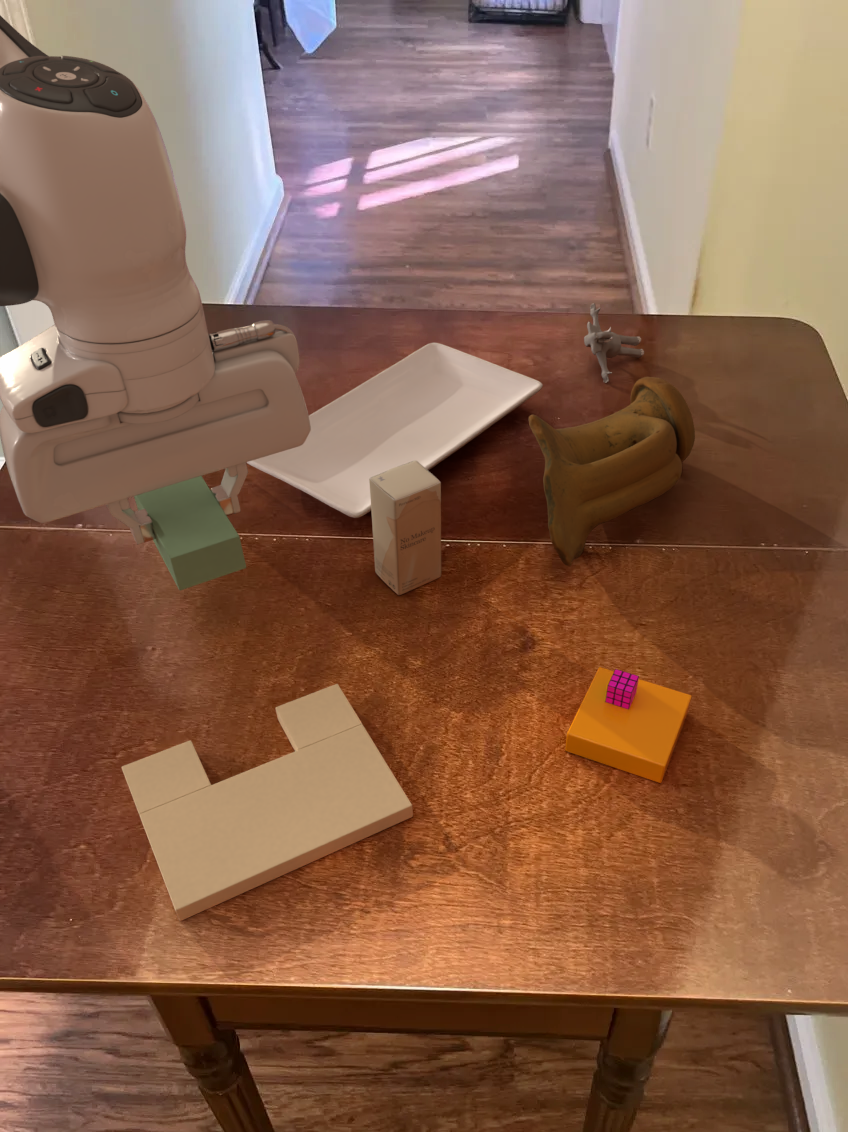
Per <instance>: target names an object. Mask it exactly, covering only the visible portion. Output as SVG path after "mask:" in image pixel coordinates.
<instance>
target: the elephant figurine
mask: <svg viewBox="0 0 848 1132" xmlns="http://www.w3.org/2000/svg"><path fill="white" fill-rule="evenodd" d="M601 308H602V307H598V308H596V303H595V302H594V303H591V304H590V307H589V309H590V311H589V313H590V317H591V318H592V321H593V323H592V322H591V321H587V324H586V328H587V332H588V333H587V334H585V336H584V337H583V343H584V345H585V347H586V348H590V351H591V353H592V354H593V355H594V356H596V358H597V362H598V364H599V366H600V368H601V378H602V380H603V383H605V384H607V383H609V382H610V378H609V376H610V375H611V374H613V371H610V370H609V368H608V363H607V359H613V358H616V356H619V357H621V356H623V357H630V358H634V359H640V358H642V357H643V356H644V354H645V350H644V349H643V348H633V347H627V346H634V347H636V346H638V345H640V343H641V342H642V338H641V336H629V335H622V334H618V333H616V332H613V331H612V327H611V326H610V327H609V329H608V330H604V331H603V330H602V329H601V325H600V322H599V313H600V310H602V309H601ZM622 345H627V346H622Z"/></svg>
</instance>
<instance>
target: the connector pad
mask: <svg viewBox="0 0 848 1132" xmlns="http://www.w3.org/2000/svg"><path fill="white" fill-rule="evenodd" d="M133 499H134V500H135V504H136V508H137V511H138V510H142V509H146V511H147V513H148V516H149V517H150V518H151V520H152V523H153V529H154V533H155V536H156V539H154V540H152V542H153V544H154V545H155V547H156V549H157V551H158V553H159V554H160V556H161V558H162V560H163V562H164V564H165V566H166V568H167V570H168V572H169V574H170V575H171V578H172V580H173V581H174V583H175V586H176V587H177V589H178V591H183V590H186V589H189V588H191V587H194V586H198V585H200V584H203V583H206V582H209V581H212V580H215V579H218V578H221V577H223V576H227V575H230V574H232V573H236V572H238V571H242V570H244V569H247V563H246V559H245V555H244V549H243V547H242V542H241V537H240V535H239V532H238V531H237V530H236V529H235V527H234V525H233V523H232V522H231V521H230V520H231V519H229V516H226V514H225V512H224V511H223V509H222V508H221V506H219V504H218V503H217V501H216V498H214V496H213V495H212V493H211V488H210V487H209V485H208V483H207V482H206V481H205V478H203V475H202V476H199V477H196V478H192V479H189V480H186V481H183V482H179V483H176V484H173V485H169V486H166V487H163V488H159V489H156V490H153V491H149V492H146V493H143V494H140V495H136V496H133Z"/></svg>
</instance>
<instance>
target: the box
mask: <svg viewBox="0 0 848 1132" xmlns="http://www.w3.org/2000/svg"><path fill="white" fill-rule="evenodd" d="M369 483H370V497H371V511H370V512H371V525H372V542H373V555H374V556H373V559H374V572H375V574H376V575H377V576H378V577H379V578H380V579H381V580H382V581H383V582H384V583H385V584H386V585H387V586H388V587H389V588H390V589H391V590H392V591H393V592H394V593H395V594H396V595H398V596H401V595H403V594H406V593H408V592H410V591H413V590H415V589H417V588H419V587H422V586H423V585H426V584H428V583H431V582H432V581H435V580H437V579H439V578H441V577H442V482H441V481H440V480H439V479H438V478H437V476H435V475H434V474H433V473H431V471H430V470H427V469H426V468H425V467H424V466H422V465H421V464H420V463H419V462H418V461H416V460H414V461H411V462H408V463H405V464H403V465H400V466H398V467H394V468H392V469H389V470H387V471H385V472H382V473H380V474H377V475H375V476H372V477H370V478H369Z"/></svg>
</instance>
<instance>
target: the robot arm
mask: <svg viewBox="0 0 848 1132" xmlns="http://www.w3.org/2000/svg"><path fill="white" fill-rule="evenodd" d="M172 167H173V166H172V164H171V161H170V157H169V154H168V150H167V147H166V145H165V141H164V138H163V134H162V132H161V129H160V127H159V125H158V122H157V120H156V118H155V115H154V113H153V111H152V109H151V107H150V105H149V103H148V102H147V100H146V98H145V97H144V95H143V94H142V91H141V90H140V89H139V88H138V87H137V85H136V84H135V83H134V81H132V80H131V79H130V78H129V77H128V76H126V75H125V74H124V73H121V72H120V71H117V70H116V69H114V68H112V67H111V66H108V65H106V64H104V63H102V62H98V61H95V60H92V59H87V58H84V57H78V56H72V55H71V56H69V55H61V56H58V55H57V56H56V55H55V56H53V55H48V54H46V53H45V52H44V51H42V50H41V49H39V48H38V47H37V46H35V45H34V44H33V43H32V42H30V40H28V39H27V38H26V37H24V36H23V35H22V34H21V33H20V32H19V31H18V30H17V29H15V28H14V27H13V26H12V24H10V23H9V22H8V21H7V20H6V19H5V18H4V17H3V16H2V15H1V14H0V307H8V306H10V307H11V306H19V305H23V304H27V303H30V302H32V301H37V302H41V303H43V304H44V305H45V306H47V308H49V311H50V313H51V315H52V320H53V325H51V326H49V327H48V328H47V329H45V330H44V331H42V332H41V333H39V334H37V335H35V336H34V337H32V338H30V339H29V340H28V341H25V342H24V343H21V345H19V346H17V347H16V348H14V349H12V350H10V351H9V352H7V353H5V354H3V355H2V356H0V402H1V404H2V407H1V408H0V443H1V448H2V452H3V456H4V461H5V465H6V467H7V471H8V475H9V478H10V480H11V484H12V486H13V489H14V492H15V495H16V497H17V500H18V503H19V505H20V508H21V510H22V512H23V514H24V515H25V516H26V517H27V518H29V519H31V520H33V521H36V522H37V523H40V524H46V523H47V524H48V523H51V522H54V521H57V520H60V519H64V518H66V517H70V516H73V515H77V514H80V513H83V512H86V511H89V510H93V509H96V508H100V507H103V506H106V508H107V510H108V512H109V514H110V515H111V516H112V517H113V518H115V519H116V520H118V521H119V522H120V523H122V524H124V525H125V526H126V527H128V528H129V531H130V533H131V535H132V537H133V540H134V541H135V543H136V545H137V546H139V545H142V544H145V543H148V542H152V541H153V540H154V539H156V536H155V533H154V529H153V523H152V520H151V518H150V517H149V516H148V513H147V511H146V509H142V510H138V509H137V510H135V511H134V510H133V509H132V508H130V507H131V506H130V502H129V498H132V497H133V498H134V496H136V495H140V494H143V493H146V492H149V491H153V490H156V489H159V488H163V487H166V486H169V485H173V484H176V483H179V482H183V481H186V480H189V479H192V478H196V477H199V476H202V477H203V476H206V475H209V474H211V473H216V472H218V471H222V470H224V473H223V475H222V479H221V482H220V484H219V485H216V486H214V487H210V490H211V493H212V495H213V496H214V498H216V501H217V503H218V504H219V506H221V508H222V509H223V511H224V512H225V514H226V516H227V517H229V516H231V515H235V514H238V513H241V505H240V501H239V496H238V495H239V494H240V492H241V490H242V488H243V486H244V483H245V481H246V479H247V476H248V475H249V469H248V465H247V464H248V463H247V462H249V461H252V460H255V459H259V458H262V457H265V456H268V455H272V454H275V453H278V452H282V451H285V450H288V449H292V448H295V447H298V446H301V445H303V444H304V442H305V440H306V439H307V437H308V435H309V433H310V431H311V425H310V420H309V415H310V414H309V411H308V408H307V404H306V400H305V397H304V394H303V390H302V388H301V384H300V381H299V380H298V377H297V375H296V374H297V373H298V370H299V369H300V368H299V367H300V364H301V363H300V362H301V361H300V359H301V357H300V351H299V344H298V339H297V336H296V334H295V333H294V331H292V329H290V328H289V327H287V326H285V325H283V324H278V323H274V322H273V320H270V319H269V320H267V319H266V320H259V321H255V322H253V323H251V324H250V325H247V326H241V327H234V328H228V329H224V330H219V331H216V332H212V333H209V331H208V326H207V320H206V316H205V311H204V306H203V301H202V298H201V293H200V290H199V288H198V286H197V284H196V282H195V280H194V278H193V276H192V275H191V272H190V270H189V267H188V263H187V255H186V246H187V227H186V222H185V218H184V217H185V216H184V212H183V208H182V204H181V200H180V196H179V191H178V186H177V182H176V179H175V175H174V171H173V168H172Z"/></svg>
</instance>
